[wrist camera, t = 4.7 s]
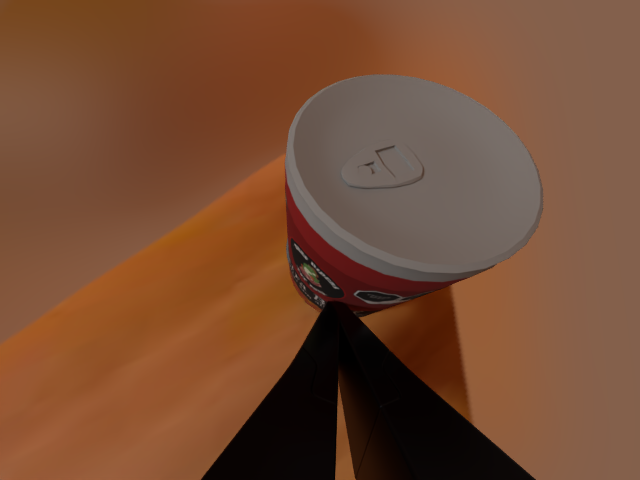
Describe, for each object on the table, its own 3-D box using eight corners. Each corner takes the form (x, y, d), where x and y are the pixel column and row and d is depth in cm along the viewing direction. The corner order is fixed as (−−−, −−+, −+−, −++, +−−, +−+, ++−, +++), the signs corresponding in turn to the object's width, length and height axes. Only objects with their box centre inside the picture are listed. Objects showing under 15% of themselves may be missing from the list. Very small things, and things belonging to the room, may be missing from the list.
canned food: (267, 260, 16) (227, 127, 6) (344, 202, 19) (402, 47, 9) (341, 348, 14) (455, 360, 4) (414, 269, 17) (584, 167, 7)
